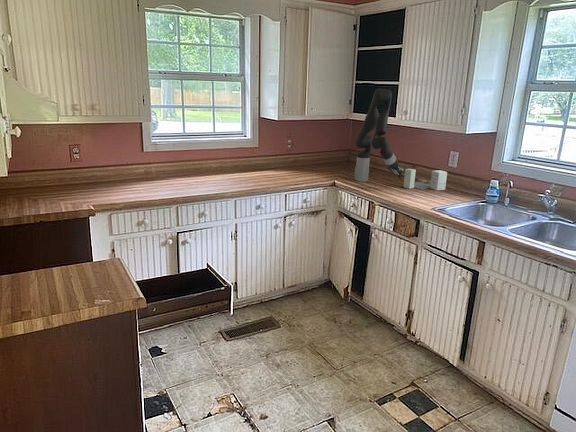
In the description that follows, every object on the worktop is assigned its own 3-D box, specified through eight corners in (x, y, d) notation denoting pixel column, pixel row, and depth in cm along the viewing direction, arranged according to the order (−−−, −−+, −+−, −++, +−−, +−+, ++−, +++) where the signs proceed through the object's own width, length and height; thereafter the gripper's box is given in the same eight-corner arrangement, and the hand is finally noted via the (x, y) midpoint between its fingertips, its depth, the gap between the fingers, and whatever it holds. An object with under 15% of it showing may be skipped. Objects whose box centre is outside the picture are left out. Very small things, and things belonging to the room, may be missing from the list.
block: (403, 187, 310) (405, 169, 306) (407, 186, 313) (409, 168, 309) (409, 189, 306) (411, 170, 302) (413, 188, 309) (415, 169, 305)
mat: (403, 185, 318) (403, 184, 318) (417, 182, 328) (417, 182, 328) (422, 189, 306) (422, 188, 306) (436, 186, 316) (436, 186, 316)
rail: (417, 182, 328) (418, 179, 327) (419, 182, 329) (419, 179, 328) (436, 186, 316) (437, 183, 316) (437, 186, 317) (438, 183, 316)
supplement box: (438, 187, 313) (440, 170, 310) (445, 190, 307) (447, 172, 303) (429, 188, 311) (431, 170, 307) (436, 190, 304) (439, 172, 300)
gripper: (401, 157, 286) (411, 174, 297) (385, 154, 296) (395, 170, 306) (395, 166, 284) (405, 182, 295) (379, 162, 294) (389, 179, 305)
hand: (400, 176), depth 301 cm, fingers closed
